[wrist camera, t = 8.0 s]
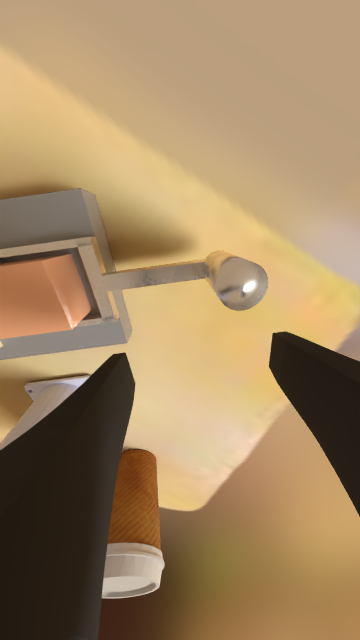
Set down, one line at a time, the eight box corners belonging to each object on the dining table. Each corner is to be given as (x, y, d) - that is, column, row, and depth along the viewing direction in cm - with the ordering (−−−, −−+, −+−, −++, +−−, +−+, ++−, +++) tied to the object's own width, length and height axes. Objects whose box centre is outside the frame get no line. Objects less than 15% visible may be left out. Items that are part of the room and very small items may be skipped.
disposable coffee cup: (95, 462, 30) (53, 593, 19) (132, 434, 27) (108, 569, 16) (140, 481, 33) (126, 602, 22) (178, 458, 30) (182, 582, 20)
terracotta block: (71, 253, 14) (41, 260, 10) (91, 309, 16) (72, 329, 12) (4, 262, 14) (-45, 272, 10) (33, 317, 16) (-1, 339, 12)
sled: (230, 217, 13) (274, 208, 7) (230, 301, 16) (263, 339, 10) (-19, 252, 13) (-153, 267, 8) (25, 329, 16) (-50, 380, 10)
